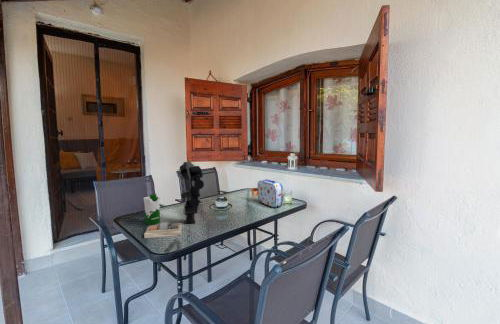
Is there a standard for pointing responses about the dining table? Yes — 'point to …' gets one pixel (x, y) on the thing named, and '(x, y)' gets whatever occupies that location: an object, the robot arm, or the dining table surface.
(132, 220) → the dining table surface
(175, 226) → the key charcoal
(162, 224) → the key grey
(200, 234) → the dining table surface
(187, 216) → the robot arm
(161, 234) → the keypad board
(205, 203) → the dining table surface
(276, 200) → the lunch box
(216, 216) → the dining table surface
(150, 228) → the key terracotta
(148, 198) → the milk carton
